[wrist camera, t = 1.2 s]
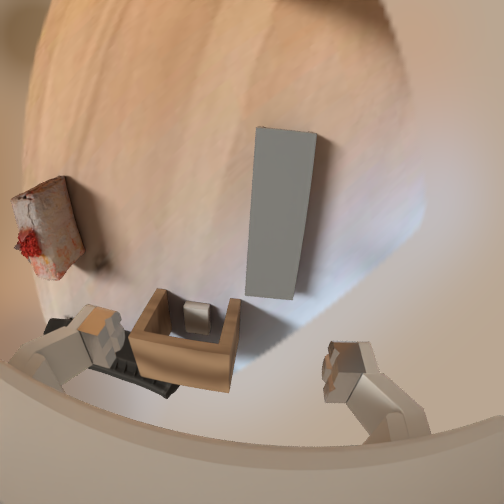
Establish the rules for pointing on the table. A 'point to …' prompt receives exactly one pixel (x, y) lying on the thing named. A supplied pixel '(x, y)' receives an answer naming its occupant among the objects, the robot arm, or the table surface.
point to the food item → (47, 228)
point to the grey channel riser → (278, 210)
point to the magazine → (123, 364)
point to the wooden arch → (185, 345)
